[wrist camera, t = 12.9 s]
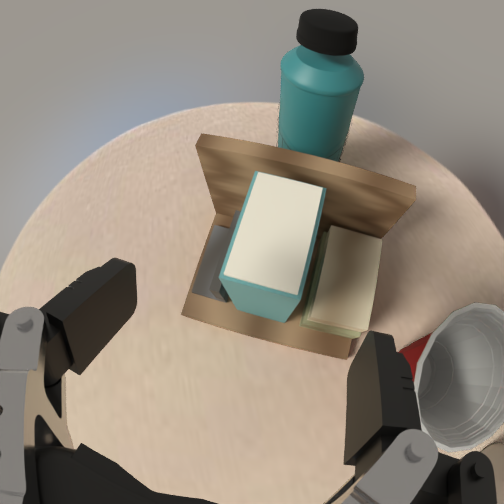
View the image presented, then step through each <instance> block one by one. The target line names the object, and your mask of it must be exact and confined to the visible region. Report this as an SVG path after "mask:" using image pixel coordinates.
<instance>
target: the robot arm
mask: <svg viewBox="0 0 504 504" xmlns="http://www.w3.org/2000/svg"><path fill="white" fill-rule="evenodd" d="M136 306H137V286H136V268H135V265H134V264H133V263H130V262H127V261H124V260H121V259H118V258H112V259H111V260H109V261H108V262H107V263H105V264H104V265H103V266H102V267H97V268H95V269H92V270H90V271H87V272H85V273H84V274H83V275H81V276H80V277H79V278H77V279H76V281H74V282H72V283H71V284H70V285H69V287H66V288H65V289H63V290H62V291H61V292H60V293H58V294H57V295H56V296H55V297H54V298H52V299H51V300H50V301H49V302H47V303H46V304H45V305H44V306H43V307H41V308H40V309H37V308H34V307H23V308H19V309H17V310H15V311H14V312H12V313H11V314H6V313H2V312H0V504H217V503H214V502H210V501H207V500H204V499H198V498H189V497H182V496H175V495H169V494H163V493H158V492H154V491H152V490H150V489H149V488H147V487H146V486H145V485H143V484H142V483H141V482H139V481H138V480H137V479H135V478H134V477H133V476H132V475H130V474H129V473H128V472H127V471H125V470H124V469H123V468H122V467H121V466H119V465H118V464H117V463H116V462H114V461H112V460H110V459H108V458H106V457H105V456H103V455H101V454H99V453H97V452H96V451H94V450H92V449H91V448H89V447H87V446H86V445H84V444H82V443H81V444H80V445H79V447H78V448H77V450H75V449H74V447H73V443H72V439H71V436H70V433H69V430H68V426H67V414H66V377H65V372H66V371H67V370H68V369H70V370H72V371H73V372H75V373H77V374H78V375H81V374H82V372H83V371H84V370H85V369H86V368H87V367H88V365H89V364H90V363H91V362H92V361H93V360H94V358H95V357H96V356H97V355H98V354H99V353H100V351H101V350H102V349H103V348H104V347H105V346H106V345H107V343H108V342H109V341H110V340H111V339H112V338H113V337H114V335H115V334H116V333H117V332H118V331H119V330H120V329H121V328H122V326H123V325H124V324H125V323H126V322H127V321H128V320H129V319H130V317H131V316H132V315H133V313H134V311H135V309H136ZM412 379H413V376H412V372H411V367H410V364H409V363H408V361H407V360H406V358H405V357H404V355H403V354H402V353H398V352H396V348H395V343H394V338H393V336H392V335H389V334H384V333H379V332H375V331H369V333H368V334H367V336H366V337H365V339H364V341H363V343H362V345H361V347H360V349H359V351H358V353H357V354H356V356H355V358H354V360H353V362H352V364H351V366H350V369H349V372H348V377H347V410H346V434H345V451H344V465H353V466H355V474H354V475H353V476H352V477H351V478H350V479H349V480H348V481H347V482H346V483H345V484H344V485H343V486H342V487H341V488H340V489H339V490H338V491H336V492H335V493H334V494H333V495H332V496H331V497H330V498H329V499H328V500H327V501H326V502H324V503H323V504H504V444H503V443H495V444H492V445H490V446H488V447H486V448H485V449H484V450H483V451H481V452H478V451H472V452H469V453H468V454H466V455H465V456H464V457H463V458H461V459H456V458H453V457H451V456H448V455H445V454H442V453H439V452H438V449H437V446H436V444H435V442H434V440H433V439H432V438H431V437H430V436H429V435H428V434H427V433H425V432H423V431H422V428H421V421H420V415H419V409H418V403H417V397H416V392H415V391H414V390H415V386H414V381H412Z"/></svg>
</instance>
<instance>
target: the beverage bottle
mask: <svg viewBox="0 0 504 504" xmlns="http://www.w3.org/2000/svg"><path fill="white" fill-rule="evenodd" d="M357 33H358V25H357V23H356V22H355V21H354V20H353V19H352V18H350V17H349V16H347V15H345V14H342V13H339V12H336V11H332V10H326V9H311V10H307V11H305V12H303V13H302V14H301V16H300V20H299V27H298V29H297V36H296V37H297V40H298V42H299V43H300V44H301V45H300V46H298V47H296V48H294V49H292V50H291V51H289V52H287V53H286V54H285V56H284V57H283V58H282V60H281V94H280V103H279V104H280V111H279V117H278V118H279V120H277V121H279V122H278V123H279V126H278V127H279V128H278V129H279V134H278V142H277V143H278V147H279V148H284V149H288V150H292V151H297V152H301V153H305V154H309V155H313V156H317V157H321V158H325V159H329V160H333V161H337V162H340V161H339V159H340V156H341V153H342V150H343V146H345V145H344V143H345V141H346V140H347V139H346V136H347V134H348V133H349V132H348V130H349V127H350V122H351V118H352V115H353V111H354V108H355V105H356V101H357V98H358V94H359V90H360V87H361V85H362V83H363V80H364V74H363V70H362V69H361V67H360V65H359V64H358V63H357V61H355V59H354V58H353V57H352V56H351V55H350V54H351V53H353V52H354V51H355V49H356V45H357ZM351 125H352V123H351ZM277 133H278V132H277ZM348 135H349V134H348ZM347 138H348V137H347ZM276 147H277V145H276ZM342 154H343V153H342ZM340 160H341V159H340Z"/></svg>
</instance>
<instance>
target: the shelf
mask: <svg viewBox="0 0 504 504" xmlns="http://www.w3.org/2000/svg"><path fill="white" fill-rule="evenodd" d="M195 146H196V149H197V153H198V156H199V159H200V163H201V166H202V169H203V172H204V176H205V179H206V182H207V185H208V188H209V192H210V195H211V198H212V201H213V204H214V208H215V211H216V215H215V218H214V221H213V223H212V226H211V229H210V232H209V234H208V237H207V240H206V243H205V246H204V249H203V251H202V254H201V257H200V260H199V263H198V266H197V269H196V271H195V274H194V277H193V280H192V283H191V286H190V289H189V292H188V295H187V298H186V301H185V304H184V307H183V310H182V313H181V315H183V316H186V317H189V318H192V319H195V320H198V321H201V322H204V323H208V324H211V325H214V326H217V327H221V328H224V329H227V330H231V331H234V332H237V333H241V334H244V335H248V336H251V337H255V338H259V339H262V340H266V341H270V342H273V343H277V344H281V345H285V346H289V347H293V348H297V349H301V350H305V351H309V352H314V353H318V354H322V355H327V356H331V357H336V358H340V359H347V358H348V354H349V350H350V346H351V341H352V339H354V338H359V337H360V335H361V332H364V331H368V326H369V321H370V316H371V311H372V306H373V300H374V295H375V289H376V283H377V277H378V270H379V263H380V256H381V248H382V237H383V236H384V235H385V234H386V233H387V232H388V231H389V230H390V229H391V228H392V227H393V225H394V224H395V223H396V222H397V221H398V220H399V219H400V218H401V216H402V215H403V214H404V213H405V212H406V211H407V210H408V209H409V207H410V206H411V205H412V204H413V203H414V202H415V200H416V186H414V185H411V184H408V183H405V182H402V181H399V180H396V179H393V178H390V177H387V176H384V175H381V174H378V173H375V172H371V171H368V170H365V169H361V168H358V167H354V166H351V165H347V164H344V163H340V162H337V161H333V160H329V159H325V158H321V157H317V156H313V155H309V154H305V153H301V152H297V151H292V150H288V149H284V148H279V147H274V146H270V145H265V144H260V143H255V142H249V141H244V140H238V139H233V138H227V137H221V136H215V135H208V134H201V135H200V137H199V139H198V141H197V143H196V145H195ZM255 171H258V172H263V173H267V174H272V175H276V176H280V177H284V178H288V179H292V180H296V181H300V182H304V183H308V184H312V185H316V186H320V187H323V188H327V189H326V193H325V198H324V203H323V208H322V213H321V217H320V222H319V226H318V231H317V235H316V240H315V244H314V248H313V252H312V257H311V261H310V265H309V269H308V273H307V277H306V281H305V285H304V289H303V293H302V297H301V300H300V302H299V303H298V305H297V306H296V308H295V309H294V310H293V312H292V313H291V315H290V316H289V317H288V319H287V320H286V322H285V323H282V322H279V321H275V320H271V319H268V318H264V317H260V316H257V315H253V314H250V313H246V312H243V311H240V310H237V309H236V307H235V305H234V304H233V302H232V300H231V298H230V297H229V295H228V293H227V291H226V290H225V288H224V286H223V284H222V283H221V281H220V279H219V275H220V272H221V269H222V266H223V263H224V260H225V257H226V254H227V251H228V248H229V245H230V242H231V239H232V236H233V233H234V230H235V227H236V224H237V222H238V219H239V216H240V213H241V210H242V207H243V204H244V201H245V198H246V196H247V193H248V190H249V187H250V184H251V181H252V179H253V176H254V173H255Z"/></svg>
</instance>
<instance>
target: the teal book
mask: <svg viewBox="0 0 504 504" xmlns="http://www.w3.org/2000/svg"><path fill="white" fill-rule="evenodd" d="M326 189H327V188H323V187H320V186H316V185H312V184H308V183H304V182H300V181H296V180H292V179H288V178H284V177H280V176H276V175H272V174H267V173H263V172H258V171H255V173H254V176H253V179H252V181H251V184H250V187H249V190H248V193H247V196H246V198H245V201H244V204H243V207H242V210H241V213H240V216H239V219H238V222H237V224H236V227H235V230H234V233H233V236H232V239H231V242H230V245H229V248H228V251H227V254H226V257H225V260H224V263H223V266H222V269H221V272H220V275H219V279H220V281H221V283H222V284H223V286H224V288H225V290H226V291H227V293H228V295H229V297H230V298H231V300H232V302H233V304H234V305H235V307H236V309H237V310H240V311H243V312H246V313H250V314H253V315H257V316H260V317H264V318H268V319H271V320H275V321H279V322H282V323H285V322H286V320H287V319H288V317H289V316H290V315H291V313H292V312H293V310H294V309H295V308H296V306H297V305H298V303H299V302H300V300H301V297H302V293H303V289H304V285H305V281H306V277H307V273H308V269H309V265H310V261H311V257H312V252H313V248H314V244H315V240H316V235H317V231H318V226H319V222H320V217H321V213H322V208H323V203H324V198H325V193H326Z"/></svg>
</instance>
